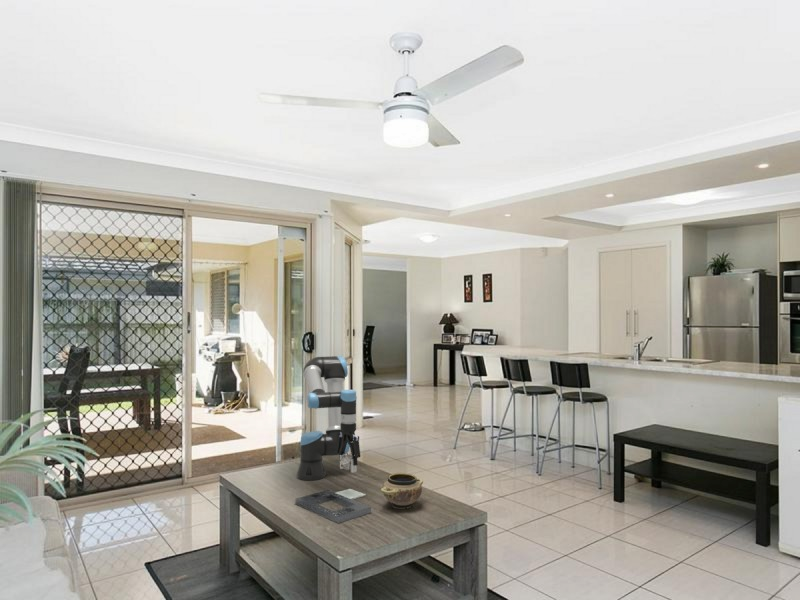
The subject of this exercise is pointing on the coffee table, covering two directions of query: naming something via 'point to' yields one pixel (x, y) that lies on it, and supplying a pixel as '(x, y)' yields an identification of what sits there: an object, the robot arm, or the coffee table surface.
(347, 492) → the pale green flat panel
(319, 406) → the robot arm
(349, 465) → the game die
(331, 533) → the coffee table surface
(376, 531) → the coffee table surface
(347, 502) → the dark grey rectangular frame
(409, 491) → the ceramic bowl
